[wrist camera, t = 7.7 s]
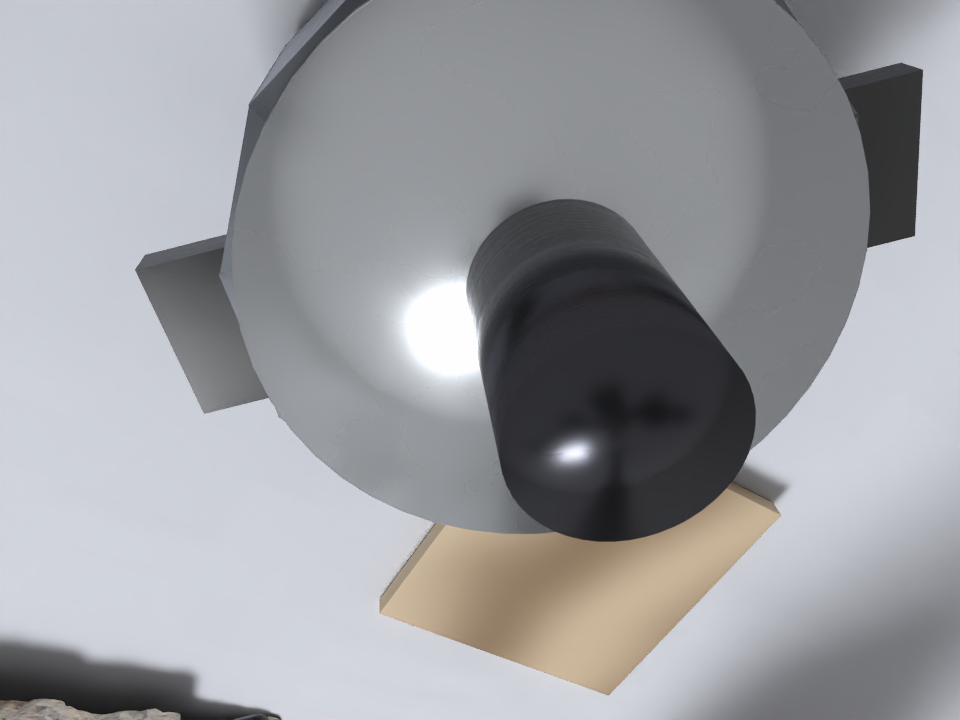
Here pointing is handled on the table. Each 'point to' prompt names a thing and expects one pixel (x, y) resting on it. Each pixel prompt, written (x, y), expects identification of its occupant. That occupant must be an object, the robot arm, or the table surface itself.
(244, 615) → the table surface
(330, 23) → the pot
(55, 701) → the stone fragment
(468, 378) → the lid
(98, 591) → the table surface
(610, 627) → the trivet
